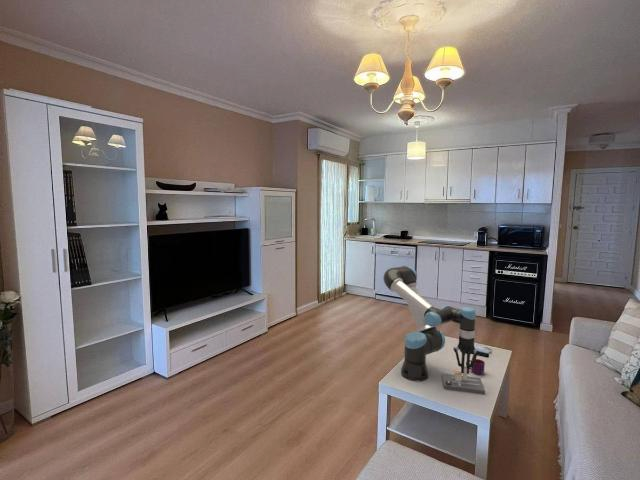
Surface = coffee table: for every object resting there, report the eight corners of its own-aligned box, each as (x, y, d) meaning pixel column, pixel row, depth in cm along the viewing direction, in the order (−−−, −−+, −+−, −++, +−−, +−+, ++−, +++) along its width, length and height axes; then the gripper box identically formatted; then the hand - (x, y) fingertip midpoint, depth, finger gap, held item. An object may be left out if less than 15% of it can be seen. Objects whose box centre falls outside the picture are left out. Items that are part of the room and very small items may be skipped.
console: (443, 389, 184) (444, 383, 184) (441, 376, 198) (442, 371, 197) (484, 394, 179) (485, 388, 179) (480, 381, 192) (480, 375, 192)
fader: (454, 381, 188) (455, 373, 187) (454, 378, 190) (454, 370, 190) (461, 382, 187) (461, 373, 186) (460, 379, 189) (461, 371, 189)
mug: (482, 376, 197) (483, 365, 197) (464, 371, 204) (464, 360, 203) (485, 372, 203) (486, 361, 202) (467, 367, 209) (468, 356, 208)
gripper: (454, 338, 183) (452, 380, 186) (481, 340, 180) (479, 384, 182) (452, 332, 190) (451, 374, 193) (478, 335, 187) (476, 377, 189)
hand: (464, 378), depth 188 cm, fingers closed
